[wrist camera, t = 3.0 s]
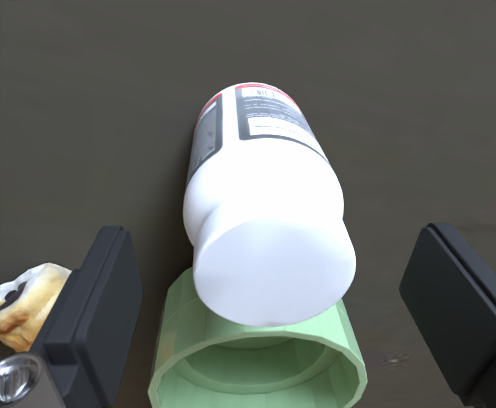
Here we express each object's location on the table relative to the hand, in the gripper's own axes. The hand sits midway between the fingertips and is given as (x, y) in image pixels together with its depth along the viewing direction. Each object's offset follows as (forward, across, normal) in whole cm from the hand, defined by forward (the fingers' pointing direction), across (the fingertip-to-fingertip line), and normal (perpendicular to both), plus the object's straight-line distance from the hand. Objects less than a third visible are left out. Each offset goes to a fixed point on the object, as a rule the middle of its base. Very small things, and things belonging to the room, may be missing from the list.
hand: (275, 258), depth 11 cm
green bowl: (+9, 0, +13) cm, 16 cm away
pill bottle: (+9, 0, -1) cm, 9 cm away
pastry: (+9, +13, +12) cm, 20 cm away
